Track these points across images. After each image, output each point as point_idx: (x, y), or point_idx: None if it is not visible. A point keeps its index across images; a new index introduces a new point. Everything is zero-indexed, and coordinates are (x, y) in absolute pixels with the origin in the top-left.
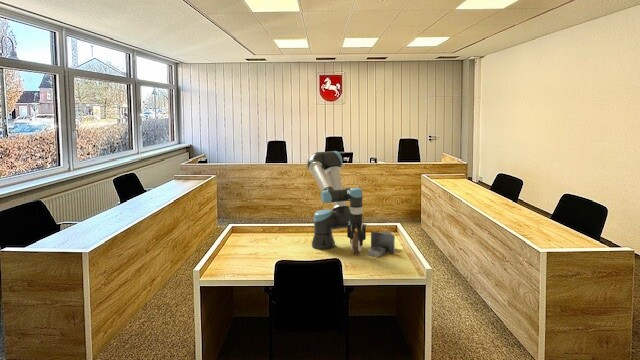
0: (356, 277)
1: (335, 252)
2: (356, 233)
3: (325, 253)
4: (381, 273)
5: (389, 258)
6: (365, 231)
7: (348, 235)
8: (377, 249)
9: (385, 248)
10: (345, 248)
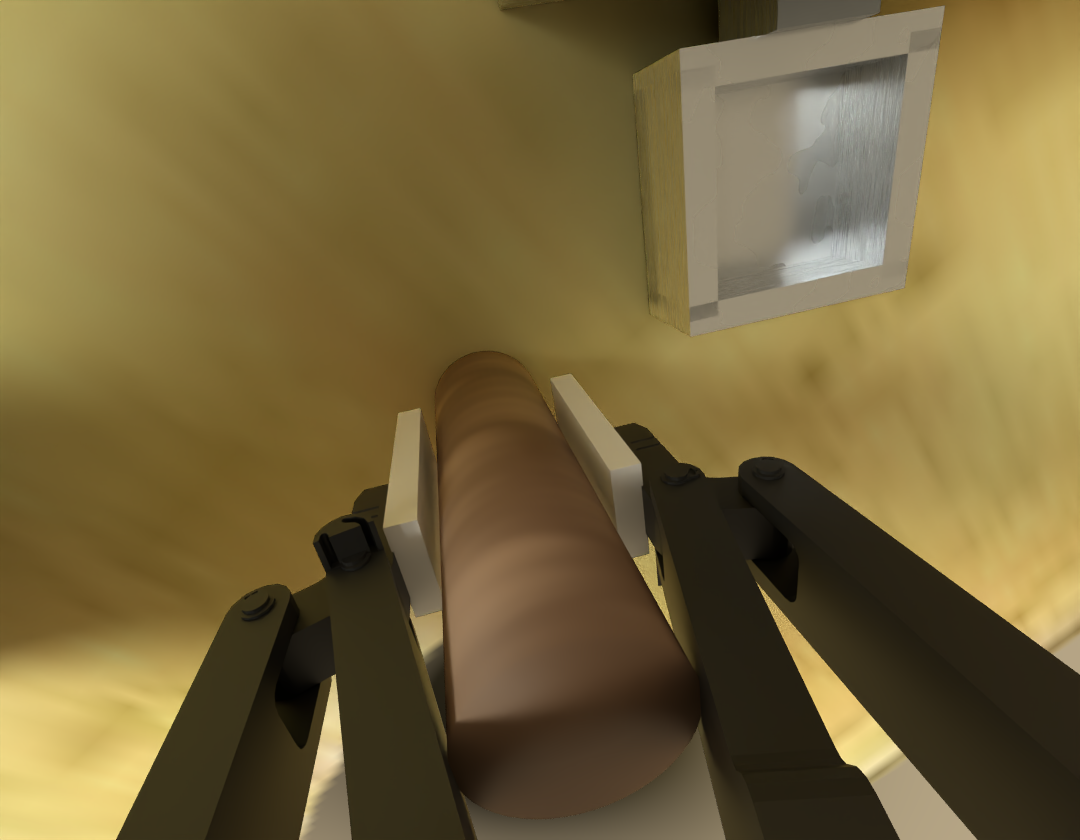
0: (878, 751)
1: (208, 573)
2: (650, 760)
3: (164, 684)
4: (1017, 589)
5: (971, 196)
6: (1012, 641)
7: (307, 724)
8: (745, 86)
9: (938, 7)
10: (90, 331)
